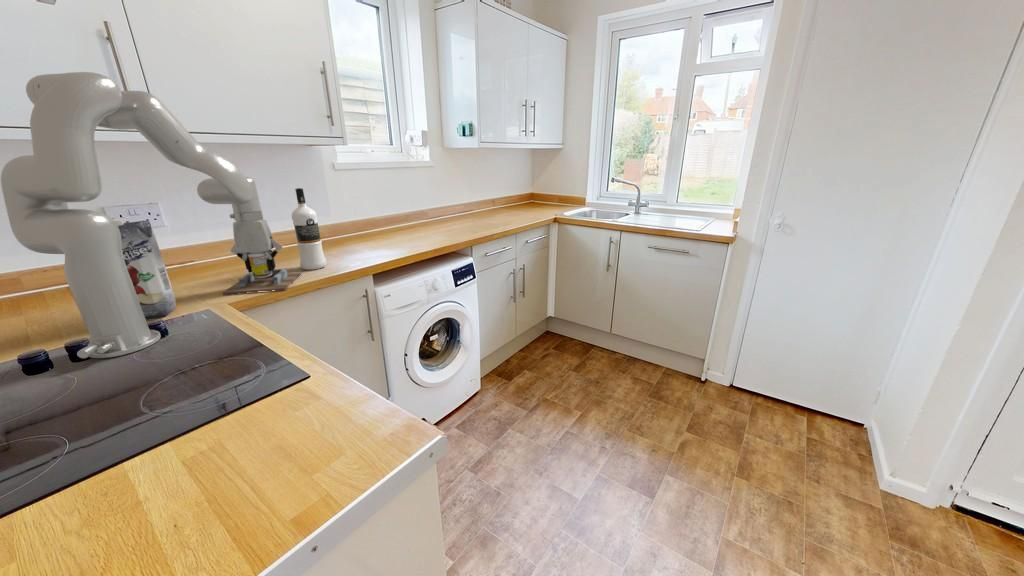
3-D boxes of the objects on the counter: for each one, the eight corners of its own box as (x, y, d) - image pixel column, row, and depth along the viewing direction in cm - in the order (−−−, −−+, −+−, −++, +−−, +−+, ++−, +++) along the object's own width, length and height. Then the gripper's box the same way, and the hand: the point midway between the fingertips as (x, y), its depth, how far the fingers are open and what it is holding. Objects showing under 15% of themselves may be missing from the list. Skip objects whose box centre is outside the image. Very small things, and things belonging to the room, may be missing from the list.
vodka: (322, 262, 157) (308, 186, 147) (330, 267, 151) (316, 188, 141) (297, 267, 151) (281, 188, 141) (305, 272, 145) (288, 190, 135)
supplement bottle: (256, 274, 133) (249, 245, 130) (274, 273, 134) (267, 244, 131) (251, 279, 128) (243, 249, 125) (270, 277, 129) (263, 247, 126)
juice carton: (137, 312, 110) (102, 217, 101) (181, 306, 114) (151, 214, 105) (120, 324, 103) (80, 222, 94) (168, 318, 106) (135, 219, 97)
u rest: (285, 290, 126) (282, 280, 125) (223, 295, 122) (220, 284, 121) (301, 274, 142) (300, 265, 141) (247, 278, 139) (245, 268, 138)
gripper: (213, 220, 120) (228, 276, 126) (273, 217, 123) (285, 272, 129) (224, 216, 127) (238, 269, 133) (282, 214, 130) (293, 265, 136)
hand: (261, 270), depth 131 cm, fingers closed on supplement bottle, 5 cm apart
